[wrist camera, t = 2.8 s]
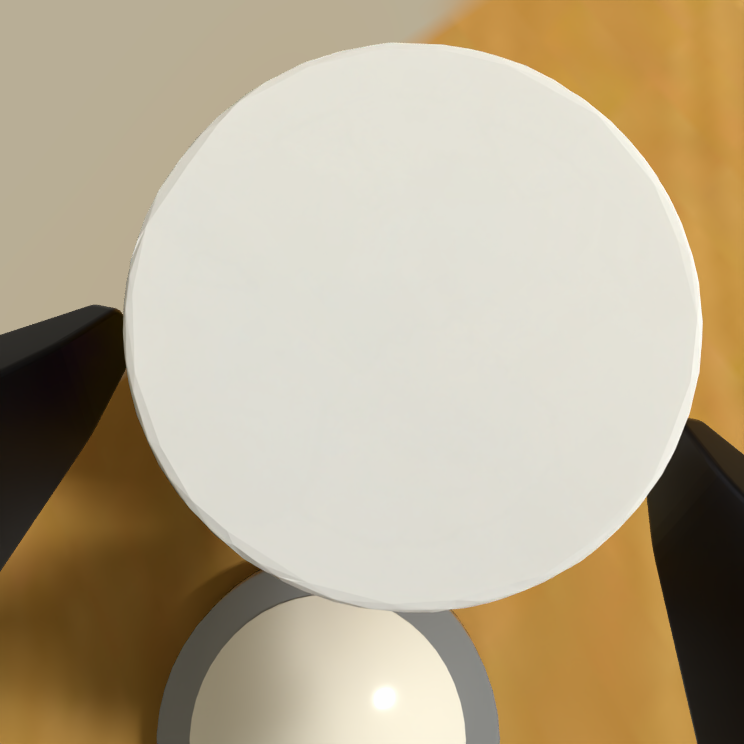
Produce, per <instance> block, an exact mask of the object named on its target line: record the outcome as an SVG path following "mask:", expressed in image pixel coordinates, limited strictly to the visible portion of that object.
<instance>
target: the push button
mask: <svg viewBox="0 0 744 744" xmlns="http://www.w3.org/2000/svg"><path fill="white" fill-rule="evenodd" d="M157 744H500V736H499V724H498V714H497V709H496V704H495V699H494V694H493V690H492V687H491V684H490V682H489V679H488V676H487V673H486V670H485V667H484V665H483V663H482V661H481V659H480V656H479V654H478V652H477V650H476V648H475V646H474V644H473V642H472V640H471V638H470V636H469V634H468V632H467V631H466V629H465V628H464V626H463V624H462V623H461V621H460V620H459V618H458V617H457V615H456V614H455V613H454V612H453V611H452V609H451V610H445V611H439V612H394V611H385V610H375V609H366V608H359V607H354V606H350V605H345V604H341V603H336V602H333V601H330V600H327V599H324V598H322V597H319V596H316V595H313V594H310V593H308V592H305V591H302V590H300V589H298V588H296V587H294V586H291V585H289V584H287V583H285V582H283V581H281V580H280V579H278V578H276V577H274V576H273V575H271V574H269V573H267V572H265V571H263V570H262V569H261V570H259V571H257V572H255V573H254V574H252V575H251V576H249V577H248V578H246V579H245V580H243V581H242V582H240V583H239V584H237V585H236V586H235V587H234V588H233V589H232V590H231V591H229V592H228V593H227V594H226V595H225V596H224V597H223V598H222V599H221V600H220V601H219V602H218V603H217V604H216V605H215V606H214V607H213V608H212V610H211V611H210V612H209V613H208V614H207V615H206V616H205V617H204V619H203V620H202V621H201V622H200V623H199V624H198V625H197V627H196V628H195V630H194V631H193V633H192V634H191V635H190V637H189V638H188V640H187V641H186V643H185V644H184V646H183V648H182V650H181V652H180V654H179V656H178V658H177V660H176V661H175V663H174V665H173V668H172V670H171V673H170V676H169V679H168V681H167V684H166V687H165V690H164V694H163V699H162V703H161V707H160V711H159V720H158V729H157Z"/></svg>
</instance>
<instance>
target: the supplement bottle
mask: <svg viewBox="0 0 744 744" xmlns="http://www.w3.org/2000/svg"><path fill="white" fill-rule="evenodd" d="M123 340H124V354H125V362H126V368H127V375H128V381H129V386H130V390H131V394H132V398H133V402H134V406H135V410H136V414H137V417H138V419H139V421H140V424H141V426H142V429H143V431H144V433H145V436H146V438H147V441H148V443H149V445H150V447H151V449H152V451H153V454H154V456H155V458H156V460H157V462H158V464H159V466H160V467H161V469H162V471H163V472H164V474H165V475H166V477H167V478H168V480H169V481H170V483H171V484H172V486H173V487H174V489H175V490H176V492H177V493H178V494H179V496H180V497H181V498H182V499H183V501H184V502H185V503H186V504H187V506H188V507H189V508H190V509H191V510H192V511H193V512H194V513H195V514H196V515H197V516H198V517H199V518H200V520H201V521H202V522H203V523H204V524H205V525H206V526H207V527H208V528H209V529H210V530H211V531H212V532H213V533H214V534H215V535H216V536H217V537H218V538H220V539H221V540H222V541H224V542H225V543H226V544H227V545H228V546H229V547H231V548H232V549H233V550H234V551H235V552H236V553H238V554H239V555H240V556H241V557H242V558H243V559H245V560H246V561H248V562H250V563H252V564H253V565H255V566H257V567H258V568H260V569H262V570H263V571H265V572H267V573H269V574H271V575H273V576H274V577H276V578H278V579H280V580H281V581H283V582H285V583H287V584H289V585H291V586H294V587H296V588H298V589H300V590H302V591H305V592H308V593H310V594H313V595H316V596H319V597H322V598H324V599H327V600H330V601H333V602H336V603H341V604H345V605H350V606H354V607H359V608H366V609H375V610H385V611H394V612H439V611H445V610H451V609H459V608H468V607H472V606H477V605H481V604H485V603H489V602H493V601H497V600H500V599H503V598H506V597H508V596H511V595H514V594H516V593H519V592H522V591H524V590H527V589H529V588H531V587H534V586H536V585H538V584H540V583H543V582H545V581H547V580H549V579H550V578H552V577H554V576H556V575H557V574H559V573H561V572H563V571H565V570H566V569H568V568H570V567H572V566H574V565H575V564H577V563H579V562H581V561H582V560H583V559H584V558H586V557H587V556H588V555H589V554H591V553H592V552H593V551H595V550H596V549H597V548H598V547H599V546H601V545H602V544H603V543H604V542H605V541H606V540H607V539H608V538H609V537H610V536H611V535H612V534H614V533H615V532H616V531H617V530H618V529H619V528H620V527H621V526H622V525H623V524H624V522H625V521H626V520H627V519H628V518H629V517H630V516H631V515H632V514H633V513H634V512H635V510H636V509H637V508H638V507H639V506H640V505H641V503H642V502H643V500H644V499H645V498H646V496H647V495H648V493H649V492H650V491H651V489H652V488H653V487H654V485H655V484H656V482H657V481H658V480H659V478H660V477H661V475H662V474H663V472H664V470H665V468H666V466H667V464H668V462H669V461H670V459H671V457H672V455H673V453H674V451H675V449H676V446H677V444H678V441H679V439H680V436H681V434H682V431H683V429H684V426H685V424H686V421H687V418H688V416H689V413H690V409H691V405H692V401H693V396H694V392H695V388H696V384H697V379H698V375H699V368H700V357H701V345H702V312H701V302H700V292H699V281H698V276H697V272H696V268H695V264H694V260H693V256H692V253H691V250H690V247H689V244H688V241H687V238H686V235H685V232H684V229H683V226H682V223H681V221H680V219H679V217H678V215H677V213H676V210H675V208H674V206H673V204H672V202H671V200H670V198H669V196H668V194H667V193H666V191H665V189H664V188H663V186H662V184H661V183H660V181H659V179H658V177H657V176H656V174H655V173H654V171H653V170H652V168H651V167H650V166H649V164H648V163H647V161H646V160H645V159H644V157H643V156H642V155H641V154H640V153H639V151H638V150H637V149H636V148H635V147H634V145H633V144H632V143H631V142H630V141H629V139H628V138H627V137H626V136H625V135H624V134H623V133H622V132H621V131H620V130H619V129H618V128H617V127H616V126H615V125H614V124H613V123H612V122H611V121H610V120H609V119H607V118H606V117H605V116H604V115H603V114H601V113H600V112H599V111H598V110H596V109H595V108H594V107H593V106H592V105H590V104H589V103H588V102H587V101H585V100H584V99H583V98H581V97H579V96H578V95H576V94H575V93H573V92H571V91H570V90H568V89H567V88H565V87H564V86H562V85H561V84H559V83H558V82H556V81H555V80H553V79H551V78H549V77H547V76H545V75H543V74H541V73H539V72H537V71H535V70H533V69H531V68H529V67H527V66H525V65H522V64H519V63H516V62H513V61H510V60H507V59H504V58H501V57H498V56H495V55H492V54H488V53H485V52H481V51H477V50H472V49H467V48H460V47H454V46H448V45H439V44H412V43H384V44H377V45H371V46H365V47H360V48H355V49H350V50H345V51H340V52H336V53H333V54H330V55H327V56H324V57H320V58H317V59H314V60H311V61H308V62H305V63H302V64H300V65H298V66H297V67H295V68H293V69H291V70H289V71H287V72H285V73H283V74H281V75H279V76H277V77H275V78H273V79H271V80H269V81H267V82H265V83H263V84H262V85H260V86H259V87H257V88H255V89H254V90H252V91H250V92H249V93H247V94H246V95H245V96H243V97H242V98H241V99H239V100H238V101H237V102H236V103H235V104H233V105H232V106H231V107H229V108H228V109H227V110H226V111H224V112H223V113H222V114H220V115H219V116H218V117H217V118H216V119H215V120H214V121H213V122H212V123H211V124H210V125H209V126H208V127H207V128H206V129H205V130H204V131H203V132H202V133H201V134H200V135H199V136H198V137H197V139H196V140H195V141H194V142H193V143H192V145H191V146H190V147H189V149H188V150H187V151H186V152H185V154H184V155H183V156H182V158H181V159H180V160H179V162H178V163H177V164H176V166H175V167H174V169H173V170H172V171H171V173H170V174H169V175H168V177H167V178H166V180H165V181H164V183H163V185H162V187H161V188H160V190H159V191H158V193H157V195H156V197H155V199H154V201H153V203H152V205H151V207H150V209H149V211H148V213H147V215H146V217H145V219H144V222H143V225H142V228H141V231H140V234H139V236H138V239H137V242H136V246H135V249H134V252H133V255H132V258H131V262H130V269H129V273H128V278H127V283H126V291H125V299H124V315H123Z"/></svg>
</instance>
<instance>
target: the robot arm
mask: <svg viewBox="0 0 744 744" xmlns="http://www.w3.org/2000/svg"><path fill="white" fill-rule="evenodd" d="M125 370H126V362H125V354H124V340H123V314H122V313H121V311H120V310H118V309H116V308H111V307H106V306H101V305H91V306H87V307H84V308H81V309H78V310H75V311H72V312H69V313H66V314H63V315H60V316H57V317H54V318H51V319H48V320H45V321H42V322H38V323H36V324H32V325H29V326H26V327H23V328H20V329H17V330H14V331H11V332H8V333H5V334H2V335H0V571H1V570H2V568H3V567H4V565H5V564H6V562H7V561H8V559H9V558H10V556H11V555H12V553H13V552H14V550H15V549H16V547H17V546H18V544H19V543H20V541H21V540H22V538H23V537H24V535H25V534H26V532H27V531H28V529H29V528H30V526H31V525H32V523H33V522H34V520H35V519H36V517H37V516H38V515H39V513H40V512H41V510H42V509H43V507H44V506H45V504H46V503H47V501H48V500H49V498H50V497H51V495H52V494H53V492H54V491H55V489H56V488H57V486H58V485H59V483H60V482H61V480H62V479H63V477H64V476H65V474H66V473H67V471H68V470H69V468H70V467H71V465H72V464H73V462H74V461H75V459H76V458H77V456H78V455H79V453H80V452H81V450H82V449H83V447H84V446H85V444H86V443H87V441H88V440H89V438H90V436H91V435H92V433H93V431H94V429H95V427H96V426H97V424H98V422H99V420H100V418H101V416H102V414H103V412H104V410H105V408H106V406H107V404H108V403H109V401H110V399H111V397H112V395H113V393H114V391H115V389H116V387H117V385H118V383H119V381H120V379H121V377H122V375H123V374H124V372H125ZM647 504H648V513H649V523H650V532H651V539H652V546H653V552H654V557H655V562H656V566H657V571H658V575H659V579H660V584H661V588H662V592H663V597H664V601H665V605H666V610H667V614H668V618H669V623H670V627H671V632H672V636H673V640H674V645H675V649H676V653H677V658H678V662H679V666H680V671H681V675H682V679H683V684H684V688H685V692H686V697H687V701H688V705H689V710H690V714H691V719H692V723H693V727H694V732H695V736H696V740H697V744H744V455H743V454H742V453H741V452H740V451H738V450H737V449H736V448H735V447H733V446H732V445H731V444H730V443H728V442H727V441H726V440H725V439H723V438H722V437H721V436H720V435H719V434H717V433H716V432H715V431H714V430H712V429H711V428H710V427H709V426H707V425H706V424H705V423H703V422H702V421H699V420H696V419H691V418H687V421H686V424H685V426H684V429H683V431H682V434H681V436H680V439H679V441H678V444H677V446H676V449H675V451H674V453H673V455H672V457H671V459H670V461H669V462H668V464H667V466H666V468H665V470H664V472H663V474H662V475H661V477H660V478H659V480H658V481H657V482H656V484H655V485H654V487H653V488H652V489H651V491H650V492H649V493H648V495H647Z"/></svg>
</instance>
